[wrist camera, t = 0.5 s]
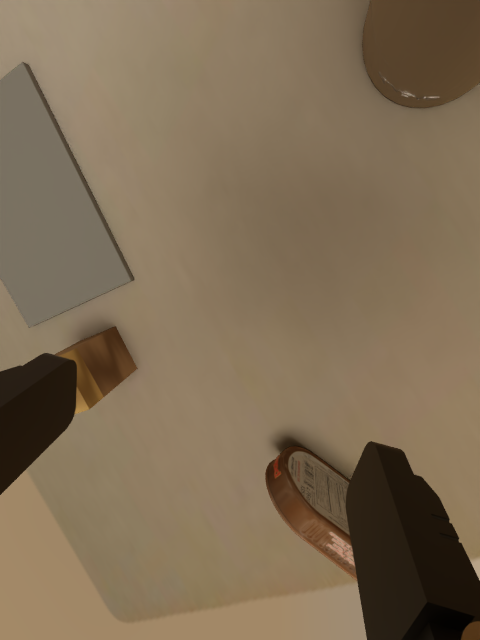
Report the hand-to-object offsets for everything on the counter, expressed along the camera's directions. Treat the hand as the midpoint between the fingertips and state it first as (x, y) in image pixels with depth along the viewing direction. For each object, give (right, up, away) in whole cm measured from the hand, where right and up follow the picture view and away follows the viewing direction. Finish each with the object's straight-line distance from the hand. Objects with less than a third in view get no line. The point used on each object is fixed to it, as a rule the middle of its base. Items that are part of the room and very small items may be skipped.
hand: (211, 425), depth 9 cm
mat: (-20, +13, +23) cm, 33 cm away
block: (-13, -1, +27) cm, 30 cm away
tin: (+11, -14, +25) cm, 31 cm away
